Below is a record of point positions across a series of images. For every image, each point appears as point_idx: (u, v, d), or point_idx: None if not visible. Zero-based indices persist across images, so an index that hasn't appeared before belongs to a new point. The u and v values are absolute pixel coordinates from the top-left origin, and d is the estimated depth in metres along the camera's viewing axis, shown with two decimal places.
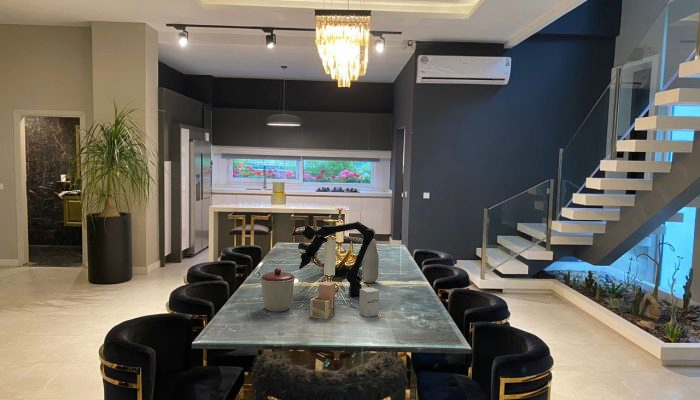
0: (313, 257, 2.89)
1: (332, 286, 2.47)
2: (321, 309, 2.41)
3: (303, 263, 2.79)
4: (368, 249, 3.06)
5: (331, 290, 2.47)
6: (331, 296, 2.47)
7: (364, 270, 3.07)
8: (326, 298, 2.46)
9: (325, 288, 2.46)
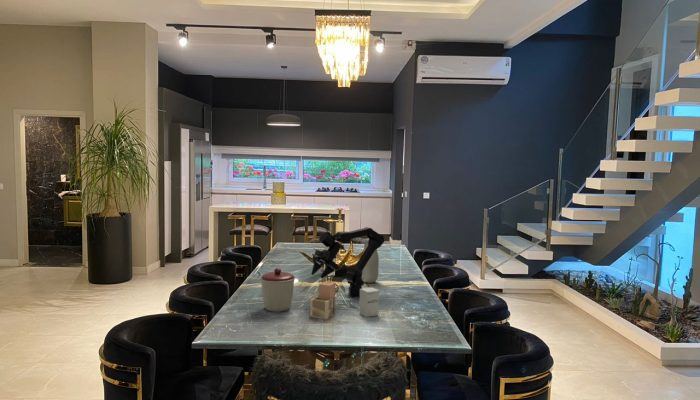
0: (320, 265, 2.73)
1: (332, 286, 2.47)
2: (321, 309, 2.41)
3: (327, 272, 2.62)
4: None
5: (331, 290, 2.47)
6: (331, 296, 2.47)
7: (364, 270, 3.07)
8: (326, 298, 2.46)
9: (325, 288, 2.46)
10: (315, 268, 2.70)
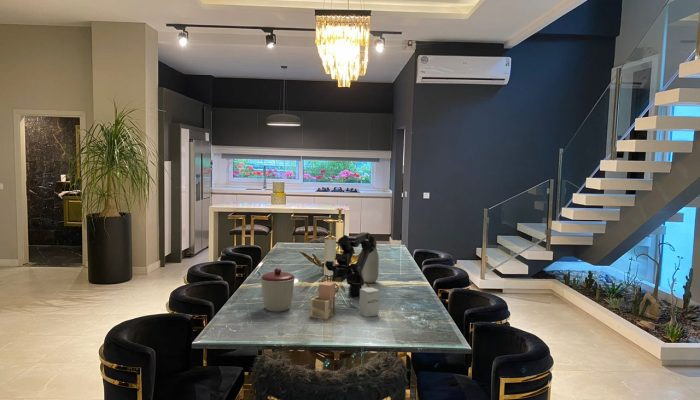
0: None
1: (332, 286, 2.47)
2: (321, 309, 2.41)
3: (346, 275, 2.61)
4: None
5: (331, 290, 2.47)
6: (331, 296, 2.47)
7: (364, 270, 3.07)
8: (326, 298, 2.46)
9: (325, 288, 2.46)
10: (335, 274, 2.63)
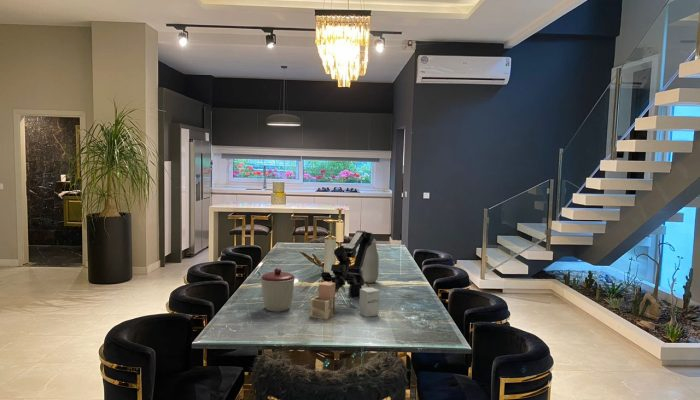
0: None
1: (332, 286, 2.47)
2: (321, 309, 2.41)
3: (338, 285, 2.58)
4: (368, 249, 3.06)
5: (331, 290, 2.47)
6: (331, 296, 2.47)
7: (364, 270, 3.07)
8: (326, 298, 2.46)
9: (325, 288, 2.46)
10: (335, 285, 2.58)
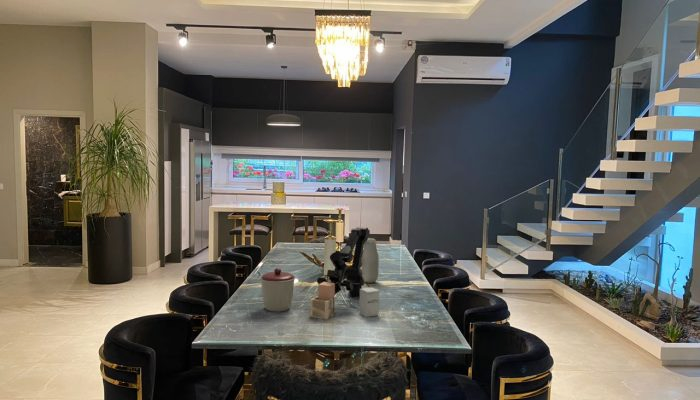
0: None
1: (331, 286, 2.47)
2: (321, 309, 2.41)
3: None
4: (368, 249, 3.06)
5: (331, 291, 2.46)
6: (330, 296, 2.46)
7: (364, 270, 3.07)
8: (325, 298, 2.45)
9: (324, 288, 2.45)
10: None
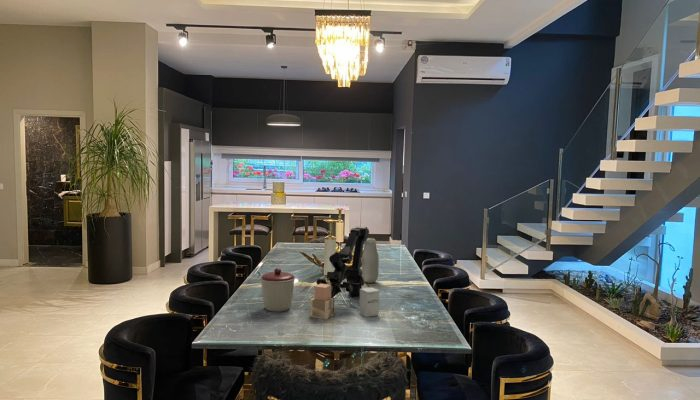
0: (332, 289, 2.58)
1: (328, 288, 2.43)
2: (321, 309, 2.41)
3: (334, 293, 2.54)
4: (368, 249, 3.06)
5: (327, 293, 2.43)
6: (327, 298, 2.43)
7: (364, 270, 3.07)
8: None
9: (320, 290, 2.42)
10: (331, 293, 2.54)
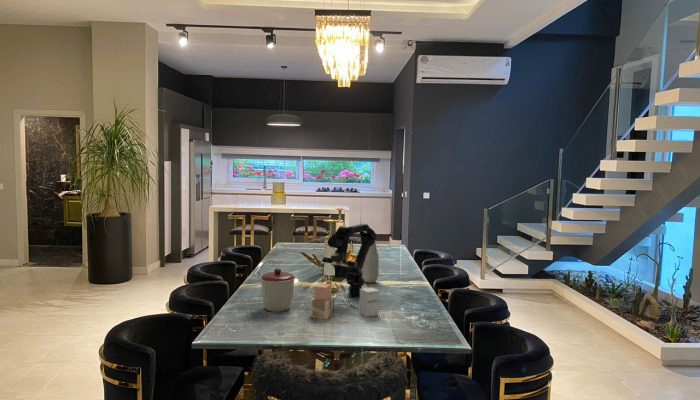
0: (339, 265, 2.70)
1: (328, 288, 2.43)
2: (321, 309, 2.41)
3: (341, 271, 2.67)
4: None
5: (327, 293, 2.43)
6: (327, 298, 2.43)
7: (364, 270, 3.07)
8: None
9: (320, 290, 2.42)
10: None
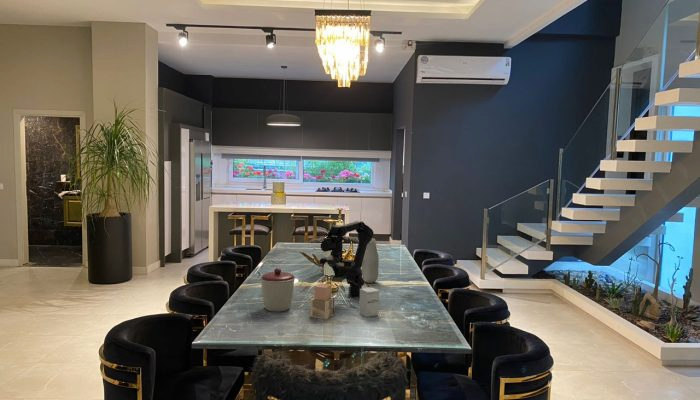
0: None
1: (328, 288, 2.43)
2: (321, 309, 2.41)
3: (339, 270, 2.68)
4: (368, 249, 3.06)
5: (327, 293, 2.43)
6: (327, 298, 2.43)
7: (364, 270, 3.07)
8: None
9: (320, 290, 2.42)
10: (336, 270, 2.68)
